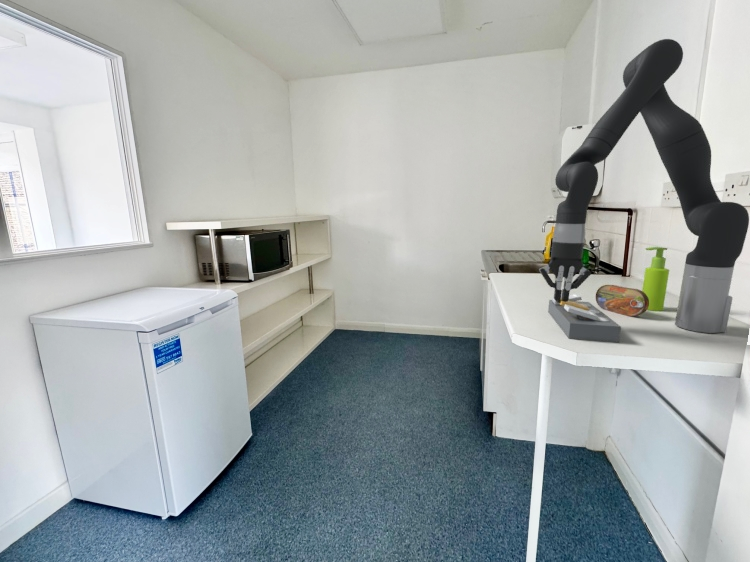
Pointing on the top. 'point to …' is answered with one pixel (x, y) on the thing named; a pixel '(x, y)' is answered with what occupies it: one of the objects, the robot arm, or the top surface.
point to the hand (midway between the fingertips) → (560, 302)
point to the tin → (622, 300)
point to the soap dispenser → (656, 280)
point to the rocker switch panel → (585, 324)
